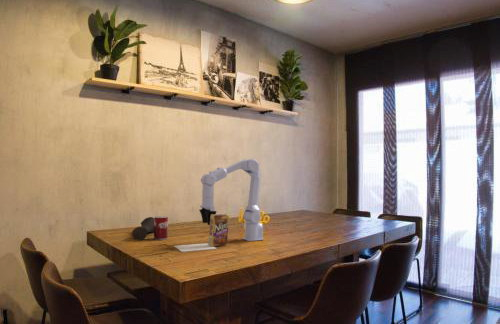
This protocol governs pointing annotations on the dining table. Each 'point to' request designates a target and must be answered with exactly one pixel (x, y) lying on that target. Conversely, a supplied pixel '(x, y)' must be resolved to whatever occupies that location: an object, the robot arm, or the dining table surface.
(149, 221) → the dark grey dumbbell
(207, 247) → the mat
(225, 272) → the dining table surface
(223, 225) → the candy box
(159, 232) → the soda can
